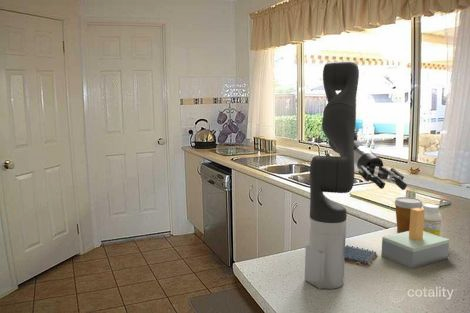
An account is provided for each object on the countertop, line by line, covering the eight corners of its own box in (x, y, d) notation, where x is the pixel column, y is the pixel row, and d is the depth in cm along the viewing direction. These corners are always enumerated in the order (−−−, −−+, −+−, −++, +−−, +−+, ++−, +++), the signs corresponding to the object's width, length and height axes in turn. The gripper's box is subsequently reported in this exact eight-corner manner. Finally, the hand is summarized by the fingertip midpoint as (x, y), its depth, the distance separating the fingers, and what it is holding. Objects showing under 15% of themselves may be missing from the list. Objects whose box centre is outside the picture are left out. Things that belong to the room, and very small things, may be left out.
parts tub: (412, 268, 111) (413, 252, 110) (381, 255, 120) (382, 239, 119) (447, 258, 118) (449, 242, 117) (416, 246, 128) (417, 231, 127)
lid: (413, 256, 110) (415, 217, 108) (382, 243, 120) (384, 208, 118) (448, 246, 117) (451, 210, 116) (417, 235, 127) (419, 202, 126)
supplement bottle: (420, 237, 136) (423, 202, 134) (441, 242, 132) (444, 205, 130) (415, 243, 131) (417, 206, 129) (437, 247, 127) (439, 209, 125)
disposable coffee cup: (424, 231, 142) (426, 199, 141) (415, 238, 136) (417, 204, 134) (398, 226, 149) (400, 195, 147) (388, 232, 142) (390, 200, 140)
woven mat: (333, 261, 117) (333, 254, 117) (345, 250, 126) (345, 244, 126) (368, 269, 111) (369, 262, 111) (378, 257, 120) (378, 250, 120)
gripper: (353, 150, 132) (380, 175, 118) (386, 153, 137) (417, 178, 123) (345, 169, 135) (371, 196, 122) (378, 171, 140) (407, 197, 126)
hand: (394, 187), depth 122 cm, fingers open, 8 cm apart
